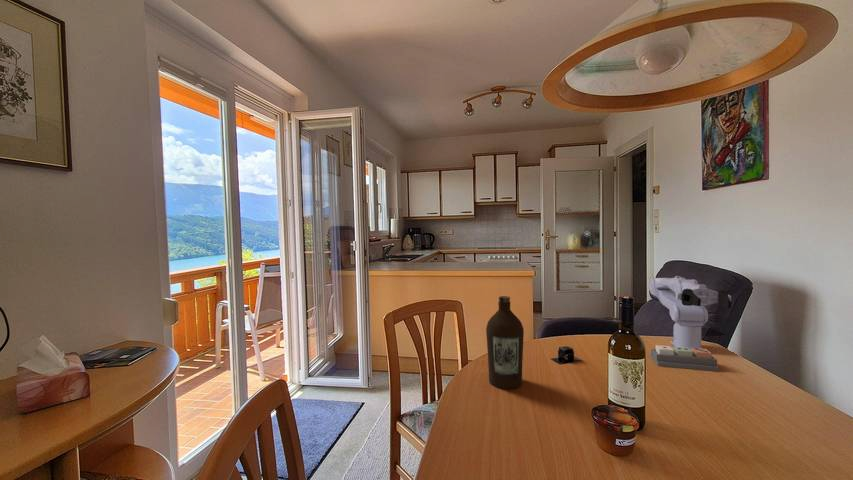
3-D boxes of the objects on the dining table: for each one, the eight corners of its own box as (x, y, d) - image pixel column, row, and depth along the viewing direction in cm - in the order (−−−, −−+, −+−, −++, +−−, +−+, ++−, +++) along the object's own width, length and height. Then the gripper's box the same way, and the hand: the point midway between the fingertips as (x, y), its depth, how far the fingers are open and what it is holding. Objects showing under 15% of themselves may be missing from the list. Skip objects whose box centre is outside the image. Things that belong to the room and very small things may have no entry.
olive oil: (486, 373, 106) (485, 293, 105) (521, 375, 105) (521, 293, 104) (487, 389, 96) (486, 300, 95) (526, 391, 94) (525, 301, 93)
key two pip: (673, 352, 113) (673, 346, 113) (687, 353, 112) (687, 347, 112) (677, 356, 110) (677, 350, 109) (692, 358, 108) (692, 351, 108)
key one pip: (655, 351, 115) (655, 344, 115) (669, 352, 114) (669, 345, 114) (659, 355, 111) (659, 348, 111) (674, 356, 110) (674, 349, 110)
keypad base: (650, 356, 117) (650, 347, 117) (706, 361, 112) (706, 352, 112) (657, 365, 110) (658, 355, 110) (718, 371, 105) (718, 361, 104)
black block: (557, 367, 111) (557, 353, 111) (543, 359, 118) (543, 346, 118) (588, 362, 115) (588, 349, 115) (573, 355, 122) (573, 342, 122)
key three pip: (691, 353, 112) (691, 347, 112) (705, 355, 111) (705, 348, 110) (696, 358, 108) (696, 351, 108) (711, 359, 107) (711, 352, 107)
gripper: (671, 280, 120) (686, 289, 107) (722, 282, 116) (744, 292, 103) (670, 300, 121) (685, 311, 108) (721, 303, 116) (743, 315, 103)
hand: (714, 303), depth 105 cm, fingers open, 7 cm apart
